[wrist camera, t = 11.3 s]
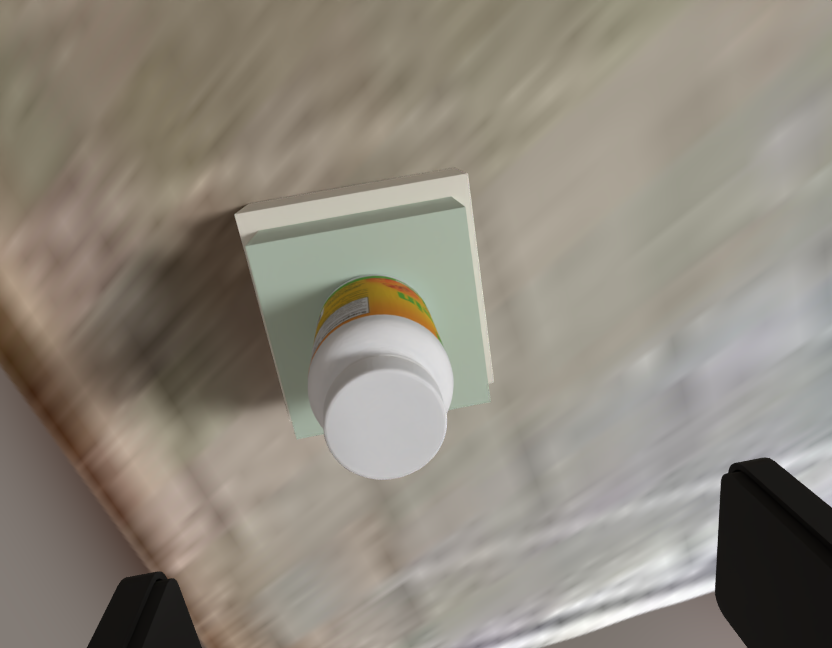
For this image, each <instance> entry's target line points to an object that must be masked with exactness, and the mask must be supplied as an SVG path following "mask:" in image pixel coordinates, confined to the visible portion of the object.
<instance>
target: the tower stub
mask: <svg viewBox="0 0 832 648" xmlns="http://www.w3.org/2000/svg"><path fill="white" fill-rule="evenodd" d="M234 215H235V219H236V222H237V226H238V230H239V233H240V237H241V241H242V245H243V248H244V252H245V256H246V260H247V263H248V267H249V271H250V275H251V278H252V282H253V286H254V289H255V293H256V297H257V301H258V304H259V308H260V312H261V316H262V319H263V323H264V327H265V330H266V334H267V338H268V342H269V345H270V349H271V353H272V357H273V360H274V364H275V368H276V371H277V375H278V379H279V383H280V386H281V390H282V394H283V398H284V401H285V405H286V409H287V412H288V416H289V420H290V422H291V421H292V424H293V427H294V431H295V435H296V439H301V438H306V437H312V436H317V435H322V434H324V430H323V428H322V427H321V426H320V424H319V423H318V421H317V420H316V418H315V416H314V414H313V411H312V409H311V406H310V402H309V397H308V373H309V367H310V361H311V356H312V349H313V344H314V338H315V332H316V326H317V321H318V318H319V314H320V312H321V309H322V307H323V305H324V303H325V302H326V300H327V298H328V297H329V296H330V294H331V293H332V292H333V291H334V290H335V289H337V288H338V287H339V286H340V285H342V284H344V283H345V282H347V281H349V280H351V279H354V278H356V277H359V276H364V275H370V274H380V275H387V276H391V277H394V278H397V279H400V280H402V281H403V282H405V283H407V284H408V285H410V286H411V287H412V288H414V289H415V290H416V291H417V292H418V294H419V295H420V296H421V297H422V299H423V300H424V302H425V304H426V306H427V308H428V310H429V312H430V314H431V317H432V319H433V322H434V324H435V327H436V329H437V332H438V334H439V336H440V339H441V341H442V343H443V346H444V348H445V350H446V353H447V355H448V358H449V361H450V364H451V367H452V372H453V379H454V387H453V396H452V401H451V404H450V407H449V409H448V410H451V409H457V408H462V407H467V406H472V405H477V404H483V403H488V402H491V401H490V393H489V385H488V384H489V383H494V378H493V370H492V362H491V354H490V346H489V338H488V330H487V322H486V314H485V306H484V298H483V290H482V282H481V274H480V266H479V258H478V250H477V243H476V235H475V227H474V219H473V211H472V203H471V195H470V187H469V179H468V173H466V172H464V171H461V170H459V169H457V168H450V169H444V170H439V171H433V172H427V173H422V174H416V175H410V176H404V177H399V178H393V179H387V180H382V181H376V182H370V183H364V184H359V185H353V186H347V187H342V188H336V189H330V190H325V191H319V192H313V193H307V194H302V195H296V196H290V197H285V198H279V199H273V200H267V201H262V202H256V203H250V204H247V205H246V206H245V207H243V208H242V209H241V210H239V211H238V212H237V213H236V214H234Z"/></svg>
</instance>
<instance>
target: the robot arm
mask: <svg viewBox="0 0 832 648" xmlns="http://www.w3.org/2000/svg"><path fill="white" fill-rule="evenodd" d="M715 596H716V600H717V603H718V606H719V608H720V610H721V612H722V614H723V615H724V617H725V618H726V619H727V621H728V622H729V623H730V625H731V626H732V628H733V629H734V630H735V632H736V633H737V634H738V636H739V637H740V638H741V640H742V641H743V642H744V644H745V645H746V646H747V648H832V507H830V506H829V505H828V504H827V503H825V502H824V501H823V500H822V499H820V498H819V497H818V496H817V495H816V494H814V493H813V492H812V491H811V490H809V489H808V488H807V487H806V486H804V485H803V484H802V483H801V482H800V481H798V480H797V479H796V478H795V477H793V476H792V475H791V474H790V473H788V472H787V471H786V470H785V469H784V468H782V467H781V466H780V465H779V464H777V463H776V462H775V461H773V460H772V459H770V458H765V457H764V458H759V459H754V460H749V461H743V462H738V463H734V464H732V465H731V466H730V468H729V472H728V473H727V474H724V475H723V476H722V479H721V491H720V510H719V528H718V547H717V565H716V583H715ZM87 648H202V647H201V644H200V641H199V639H198V636H197V633H196V631H195V628H194V625H193V623H192V620H191V617H190V614H189V612H188V609H187V606H186V604H185V601H184V598H183V596H182V593H181V590H180V587H179V585H178V583H177V581H176V580H175V579H174V578H171V579H167V578H166V576H165V574H164V573H163V572H153V573H148V574H142V575H137V576H132V577H126V578H124V579H123V580H121V582H120V583H119V585H118V586H117V589H116V591H115V593H114V594H113V597H112V599H111V601H110V603H109V605H108V607H107V609H106V611H105V613H104V615H103V617H102V619H101V621H100V623H99V625H98V627H97V629H96V631H95V633H94V635H93V637H92V639H91V641H90V643H89V645H88V647H87Z"/></svg>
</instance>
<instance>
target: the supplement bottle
mask: <svg viewBox="0 0 832 648" xmlns="http://www.w3.org/2000/svg"><path fill="white" fill-rule="evenodd" d="M453 387H454V379H453V372H452V367H451V364H450V361H449V358H448V355H447V353H446V350H445V348H444V346H443V343H442V341H441V339H440V336H439V334H438V332H437V329H436V327H435V324H434V322H433V319H432V317H431V314H430V312H429V310H428V308H427V306H426V304H425V302H424V300H423V299H422V297H421V296H420V295H419V294H418V292H417V291H416V290H415V289H414V288H412V287H411V286H410V285H408V284H407V283H405V282H403V281H402V280H400V279H397V278H394V277H391V276H387V275H380V274H370V275H364V276H359V277H356V278H354V279H351V280H349V281H347V282H345V283H344V284H342V285H340V286H339V287H338V288H337V289H335V290H334V291H333V292H332V293H331V294H330V296H329V297H328V298H327V300H326V302H325V303H324V305H323V307H322V309H321V312H320V314H319V318H318V321H317V326H316V332H315V338H314V344H313V349H312V356H311V361H310V367H309V373H308V397H309V402H310V406H311V409H312V411H313V414H314V416H315V418H316V420H317V421H318V423H319V424H320V426H321V427H322V428H323V430H324V437H325V440H326V443H327V446H328V448H329V450H330V452H331V453H332V455H333V456H334V457H335V459H336V460H337V461H338V462H339V463H340V464H341V465H342V466H344V467H345V468H346V469H348V470H349V471H351V472H353V473H355V474H357V475H359V476H363V477H366V478H371V479H379V480H384V479H394V478H400V477H403V476H406V475H409V474H411V473H413V472H415V471H417V470H419V469H420V468H422V467H423V466H424V465H426V464H427V463H428V462H429V461H430V460H431V459H432V458H433V457H434V456H435V454H436V453H437V452H438V450H439V449H440V447H441V445H442V442H443V440H444V437H445V434H446V429H447V412H448V409H449V407H450V404H451V401H452V396H453Z"/></svg>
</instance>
